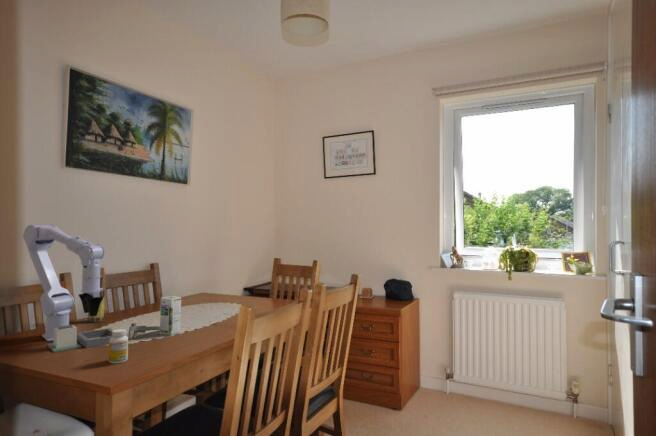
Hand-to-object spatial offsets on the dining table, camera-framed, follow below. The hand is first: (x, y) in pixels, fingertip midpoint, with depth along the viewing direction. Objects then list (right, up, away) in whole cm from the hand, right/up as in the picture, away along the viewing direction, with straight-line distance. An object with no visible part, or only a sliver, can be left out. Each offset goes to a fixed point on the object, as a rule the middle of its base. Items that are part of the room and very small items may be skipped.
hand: (90, 314), depth 151 cm
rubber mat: (-5, -10, -7) cm, 13 cm away
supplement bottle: (+21, -10, -21) cm, 31 cm away
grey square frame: (+3, -10, 0) cm, 10 cm away
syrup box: (+25, -11, +12) cm, 30 cm away
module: (-5, -9, -7) cm, 13 cm away
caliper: (+18, -11, +11) cm, 24 cm away
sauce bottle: (-15, -10, +29) cm, 34 cm away
